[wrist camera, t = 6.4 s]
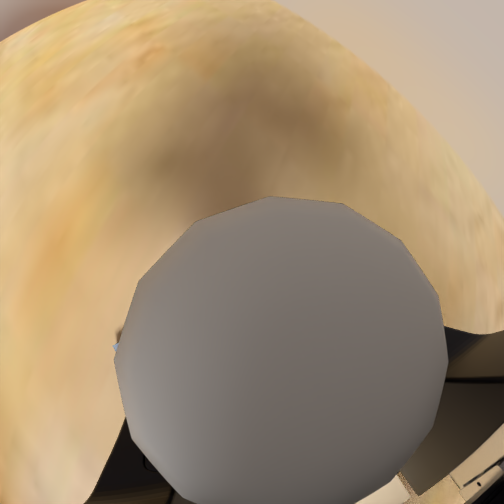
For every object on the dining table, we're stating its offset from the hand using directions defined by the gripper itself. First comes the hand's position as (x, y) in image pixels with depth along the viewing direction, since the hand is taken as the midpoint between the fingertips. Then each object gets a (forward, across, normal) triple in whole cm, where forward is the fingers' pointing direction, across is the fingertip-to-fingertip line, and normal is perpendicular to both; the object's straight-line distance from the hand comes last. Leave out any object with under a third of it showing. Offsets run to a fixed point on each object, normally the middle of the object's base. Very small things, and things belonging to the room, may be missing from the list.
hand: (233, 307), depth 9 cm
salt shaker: (+4, 0, +6) cm, 7 cm away
